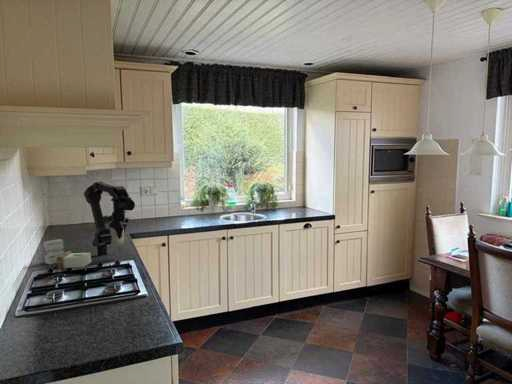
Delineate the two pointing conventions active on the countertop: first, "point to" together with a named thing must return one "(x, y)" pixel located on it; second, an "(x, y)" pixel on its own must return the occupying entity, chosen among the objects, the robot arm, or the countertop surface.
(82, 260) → the socket block
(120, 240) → the dowel
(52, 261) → the ink box
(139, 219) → the countertop surface
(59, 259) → the wall board
